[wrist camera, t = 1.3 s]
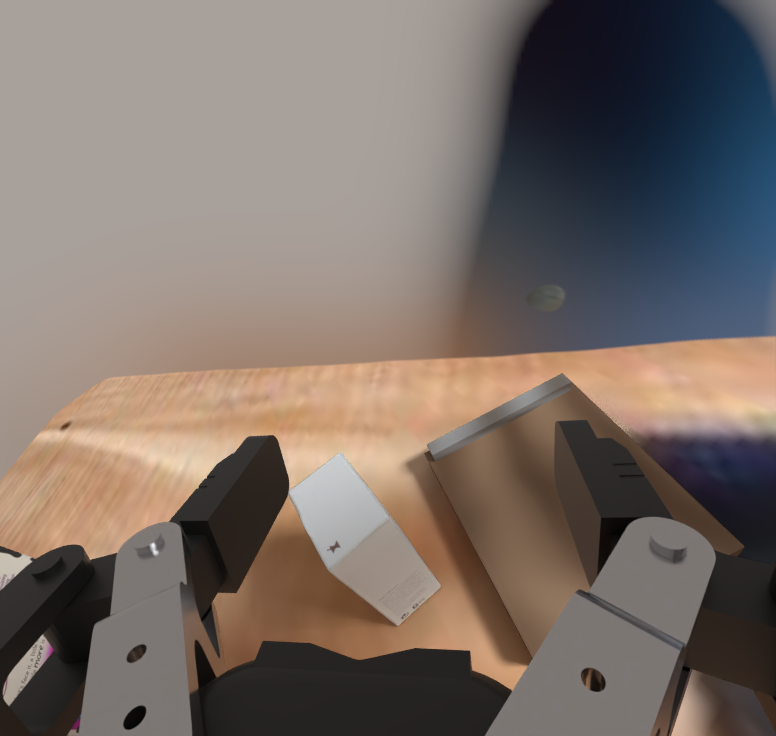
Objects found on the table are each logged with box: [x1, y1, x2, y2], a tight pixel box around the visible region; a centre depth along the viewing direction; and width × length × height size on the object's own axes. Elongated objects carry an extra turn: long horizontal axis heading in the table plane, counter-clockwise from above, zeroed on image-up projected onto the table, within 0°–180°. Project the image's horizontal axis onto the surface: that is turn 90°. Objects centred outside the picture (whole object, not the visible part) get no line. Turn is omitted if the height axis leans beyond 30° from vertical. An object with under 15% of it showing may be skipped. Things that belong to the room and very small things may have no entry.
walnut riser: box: [424, 373, 745, 658], centre depth 30 cm, size 14×16×3 cm
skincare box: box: [288, 453, 441, 626], centre depth 28 cm, size 6×4×12 cm
